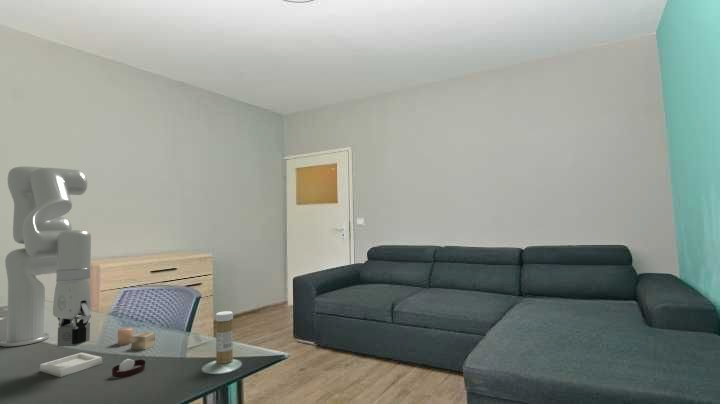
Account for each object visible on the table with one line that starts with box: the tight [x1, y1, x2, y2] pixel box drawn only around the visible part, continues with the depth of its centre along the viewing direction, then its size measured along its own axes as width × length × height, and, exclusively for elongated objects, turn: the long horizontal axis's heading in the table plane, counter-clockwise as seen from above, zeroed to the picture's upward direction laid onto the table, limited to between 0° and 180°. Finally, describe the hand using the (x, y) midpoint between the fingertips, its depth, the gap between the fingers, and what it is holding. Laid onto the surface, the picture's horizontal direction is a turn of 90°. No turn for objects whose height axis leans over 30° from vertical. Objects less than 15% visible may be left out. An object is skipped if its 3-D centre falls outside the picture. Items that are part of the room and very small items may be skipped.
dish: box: [39, 352, 103, 378], centre depth 102 cm, size 10×10×2 cm
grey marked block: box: [57, 321, 91, 347], centre depth 103 cm, size 5×5×5 cm
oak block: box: [130, 332, 156, 350], centre depth 119 cm, size 5×4×4 cm
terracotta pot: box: [117, 326, 134, 346], centre depth 124 cm, size 4×4×4 cm
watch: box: [111, 358, 146, 379], centre depth 98 cm, size 8×5×4 cm, turn 141°
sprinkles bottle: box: [215, 310, 234, 365], centre depth 105 cm, size 5×5×14 cm
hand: (72, 341), depth 103 cm, fingers closed on grey marked block, 5 cm apart
